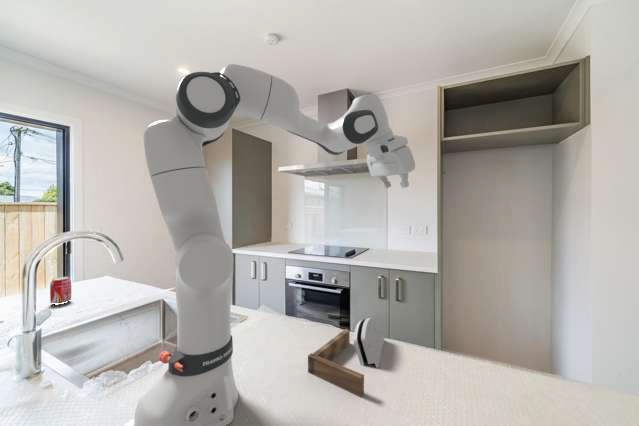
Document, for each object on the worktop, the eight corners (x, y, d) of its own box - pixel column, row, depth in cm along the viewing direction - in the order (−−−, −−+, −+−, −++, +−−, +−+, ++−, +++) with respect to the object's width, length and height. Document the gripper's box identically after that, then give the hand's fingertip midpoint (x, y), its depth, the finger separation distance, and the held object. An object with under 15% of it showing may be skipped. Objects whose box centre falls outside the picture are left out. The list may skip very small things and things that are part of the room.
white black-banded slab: (378, 368, 71) (365, 333, 72) (362, 371, 72) (350, 336, 73) (384, 340, 86) (374, 311, 87) (371, 342, 88) (361, 313, 89)
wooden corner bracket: (361, 397, 60) (361, 378, 60) (307, 372, 69) (307, 355, 69) (390, 358, 76) (390, 343, 76) (344, 341, 85) (344, 328, 85)
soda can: (50, 303, 121) (50, 278, 121) (71, 299, 126) (71, 275, 126) (49, 307, 116) (49, 281, 116) (71, 303, 121) (70, 278, 120)
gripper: (358, 155, 89) (372, 191, 92) (392, 144, 70) (408, 191, 72) (373, 148, 90) (386, 184, 93) (410, 136, 71) (425, 182, 74)
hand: (396, 187), depth 83 cm, fingers open, 8 cm apart
